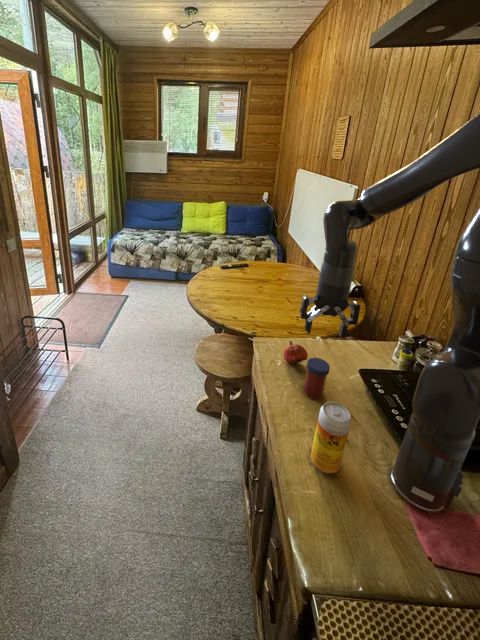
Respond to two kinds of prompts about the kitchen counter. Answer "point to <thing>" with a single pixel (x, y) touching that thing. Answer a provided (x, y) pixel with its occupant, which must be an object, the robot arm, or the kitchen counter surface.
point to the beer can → (330, 437)
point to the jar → (314, 385)
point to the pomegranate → (295, 354)
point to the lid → (318, 367)
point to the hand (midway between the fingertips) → (324, 333)
